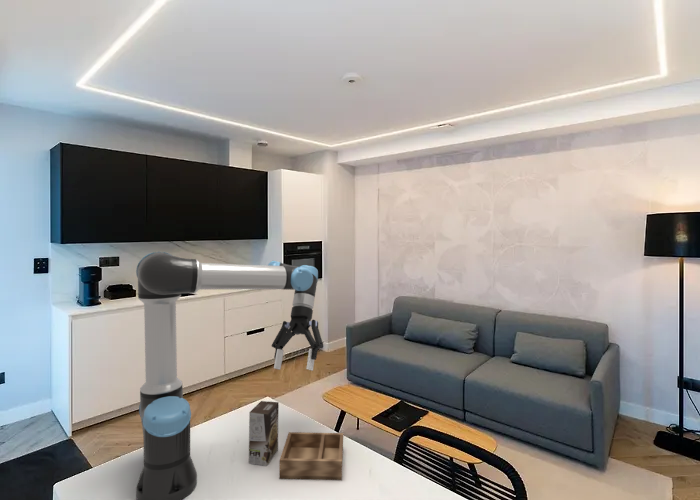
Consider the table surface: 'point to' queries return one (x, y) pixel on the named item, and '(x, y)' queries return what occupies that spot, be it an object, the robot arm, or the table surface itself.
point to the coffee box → (263, 432)
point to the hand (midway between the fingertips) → (292, 369)
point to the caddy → (312, 456)
